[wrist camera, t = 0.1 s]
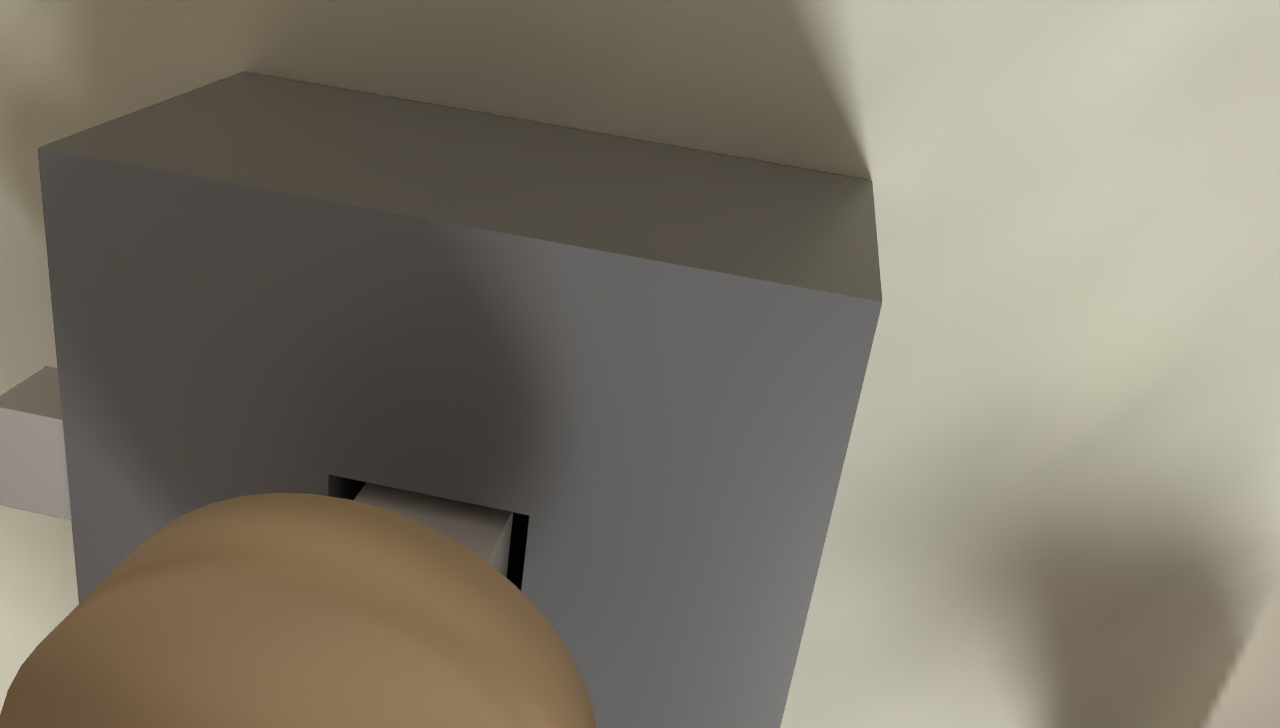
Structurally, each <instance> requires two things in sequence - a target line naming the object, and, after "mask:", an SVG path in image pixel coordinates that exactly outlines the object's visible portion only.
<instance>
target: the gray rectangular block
mask: <svg viewBox="0 0 1280 728" xmlns="http://www.w3.org/2000/svg"><path fill="white" fill-rule="evenodd" d="M38 156H39V167H40V178H41V189H42V200H43V211H44V222H45V233H46V244H47V255H48V266H49V277H50V288H51V299H52V310H53V321H54V332H55V343H56V354H57V365H58V369H57V368H52V367H47V366H46V367H44V368H43V369H41V370H40V371H38V372H37V373H35V374H34V375H32V376H30V377H29V378H27V379H26V380H24V381H23V382H21V383H20V384H18V385H17V386H15V387H14V388H12V389H10V390H9V391H7V392H6V393H4V394H3V395H1V396H0V505H2V506H7V507H12V508H16V509H21V510H26V511H30V512H35V513H40V514H45V515H49V516H54V517H59V518H63V519H68V520H72V531H73V542H74V553H75V564H76V575H77V586H78V597H79V604H80V603H81V602H82V601H83V600H84V599H85V598H86V597H87V596H88V595H89V594H90V593H91V592H92V591H93V590H94V589H95V588H96V587H97V586H98V585H99V584H100V583H101V582H102V581H103V580H104V579H105V578H106V577H107V576H108V575H110V574H111V573H112V572H113V571H114V570H115V569H116V568H117V567H118V566H119V565H120V564H121V563H122V562H123V561H124V560H125V559H126V558H127V557H128V556H129V555H130V554H131V553H132V552H133V551H134V550H135V549H136V548H137V547H138V546H139V545H140V544H141V543H143V542H144V541H145V540H146V539H147V538H149V537H150V536H151V535H152V534H153V533H154V532H156V531H157V530H158V529H160V528H161V527H163V526H165V525H166V524H168V523H170V522H171V521H173V520H175V519H177V518H178V517H180V516H182V515H183V514H186V513H188V512H191V511H193V510H196V509H199V508H201V507H204V506H206V505H209V504H211V503H215V502H219V501H224V500H228V499H232V498H236V497H241V496H248V495H258V494H269V493H301V494H316V495H323V496H330V497H337V498H343V499H349V500H354V499H355V497H356V496H357V495H358V494H359V492H360V491H361V490H362V488H363V487H364V486H365V484H366V483H367V482H368V483H373V484H378V485H383V486H388V487H393V488H397V489H402V490H407V491H412V492H417V493H422V494H427V495H432V496H437V497H441V498H446V499H451V500H456V501H461V502H466V503H471V504H476V505H481V506H485V507H490V508H495V509H500V510H505V511H510V512H513V520H512V529H511V539H510V549H509V559H508V569H507V579H508V580H510V581H511V582H512V583H513V584H514V585H515V586H516V587H517V588H518V589H519V590H520V591H521V592H522V593H523V594H524V595H525V596H526V597H527V598H528V599H529V600H530V601H531V602H532V603H533V604H534V605H535V606H536V607H537V608H538V609H539V611H540V612H541V613H542V614H543V616H544V617H545V618H546V620H547V621H548V622H549V624H550V625H551V626H552V628H553V629H554V630H555V631H556V633H557V634H558V635H559V637H560V638H561V640H562V641H563V643H564V645H565V647H566V648H567V650H568V652H569V653H570V655H571V657H572V659H573V660H574V662H575V664H576V665H577V668H578V670H579V672H580V675H581V677H582V680H583V682H584V684H585V687H586V689H587V692H588V694H589V697H590V701H591V705H592V709H593V713H594V717H595V720H596V725H597V728H780V725H781V721H782V717H783V713H784V709H785V705H786V700H787V696H788V692H789V688H790V684H791V680H792V675H793V671H794V667H795V663H796V659H797V655H798V650H799V646H800V642H801V638H802V634H803V630H804V626H805V621H806V617H807V613H808V609H809V605H810V601H811V596H812V592H813V588H814V584H815V580H816V576H817V571H818V567H819V563H820V559H821V555H822V551H823V546H824V542H825V538H826V534H827V530H828V526H829V521H830V517H831V513H832V509H833V505H834V501H835V497H836V492H837V488H838V484H839V480H840V476H841V472H842V467H843V463H844V459H845V455H846V451H847V447H848V442H849V438H850V434H851V430H852V426H853V422H854V417H855V413H856V409H857V405H858V401H859V397H860V393H861V388H862V384H863V380H864V376H865V372H866V368H867V363H868V359H869V355H870V351H871V347H872V343H873V338H874V334H875V330H876V326H877V322H878V318H879V313H880V309H881V305H882V293H881V281H880V269H879V257H878V245H877V233H876V221H875V209H874V197H873V185H872V180H866V179H860V178H855V177H849V176H843V175H837V174H831V173H826V172H820V171H814V170H808V169H803V168H797V167H791V166H785V165H779V164H774V163H768V162H762V161H756V160H751V159H745V158H739V157H733V156H727V155H722V154H716V153H710V152H704V151H699V150H693V149H687V148H681V147H675V146H670V145H664V144H658V143H652V142H646V141H641V140H635V139H629V138H623V137H618V136H612V135H606V134H600V133H594V132H589V131H583V130H577V129H571V128H566V127H560V126H554V125H548V124H542V123H537V122H531V121H525V120H519V119H514V118H508V117H502V116H496V115H490V114H485V113H479V112H473V111H467V110H462V109H456V108H450V107H444V106H438V105H433V104H427V103H421V102H415V101H410V100H404V99H398V98H392V97H386V96H381V95H375V94H369V93H363V92H358V91H352V90H346V89H340V88H334V87H329V86H323V85H317V84H311V83H306V82H300V81H294V80H288V79H282V78H277V77H271V76H265V75H259V74H254V73H248V72H241V73H238V74H235V75H233V76H230V77H227V78H225V79H222V80H219V81H217V82H214V83H211V84H209V85H206V86H203V87H201V88H198V89H195V90H192V91H190V92H187V93H184V94H182V95H179V96H176V97H174V98H171V99H168V100H166V101H163V102H160V103H157V104H155V105H152V106H149V107H147V108H144V109H141V110H139V111H136V112H133V113H131V114H128V115H125V116H123V117H120V118H117V119H114V120H112V121H109V122H106V123H104V124H101V125H98V126H96V127H93V128H90V129H88V130H85V131H82V132H80V133H77V134H74V135H71V136H69V137H66V138H63V139H61V140H58V141H55V142H53V143H50V144H47V145H45V146H42V147H39V148H38Z"/></svg>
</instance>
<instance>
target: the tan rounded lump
mask: <svg viewBox="0 0 1280 728" xmlns="http://www.w3.org/2000/svg"><path fill="white" fill-rule="evenodd" d="M512 520H513V512H510V511H505V510H500V509H495V508H490V507H485V506H481V505H476V504H471V503H466V502H461V501H456V500H451V499H446V498H441V497H437V496H432V495H427V494H422V493H417V492H412V491H407V490H402V489H397V488H393V487H388V486H383V485H378V484H373V483H368V482H367V483H366V484H365V486H364V487H363V488H362V490H361V491H360V492H359V494H358V495H357V496H356V497H355V499H354V500H349V499H343V498H337V497H330V496H323V495H316V494H301V493H269V494H258V495H248V496H241V497H236V498H232V499H228V500H224V501H219V502H215V503H211V504H209V505H206V506H204V507H201V508H199V509H196V510H193V511H191V512H188V513H186V514H183V515H182V516H180V517H178V518H177V519H175V520H173V521H171V522H170V523H168V524H166V525H165V526H163V527H161V528H160V529H158V530H157V531H156V532H154V533H153V534H152V535H151V536H150V537H149V538H147V539H146V540H145V541H144V542H143V543H141V544H140V545H139V546H138V547H137V548H136V549H135V550H134V551H133V552H132V553H131V554H130V555H129V556H128V557H127V558H126V559H125V560H124V561H123V562H122V563H121V564H120V565H119V566H118V567H117V568H116V569H115V570H114V571H113V572H112V573H111V574H110V575H108V576H107V577H106V578H105V579H104V580H103V581H102V582H101V583H100V584H99V585H98V586H97V587H96V588H95V589H94V590H93V591H92V592H91V593H90V594H89V595H88V596H87V597H86V598H85V599H84V600H83V601H82V602H81V603H80V604H79V605H78V606H77V607H76V608H75V609H74V610H73V611H72V612H71V613H70V614H69V615H68V616H67V617H66V618H65V619H64V620H63V621H62V622H61V623H60V624H59V625H58V626H57V627H56V628H55V629H54V630H53V631H52V632H51V633H50V634H49V635H48V636H47V637H46V638H45V639H44V640H43V641H42V642H41V643H40V644H39V645H38V646H37V647H36V648H35V650H34V651H33V652H32V653H31V655H30V656H29V657H28V658H27V659H26V661H25V662H24V663H23V664H22V666H21V667H20V669H19V671H18V673H17V675H16V676H15V678H14V680H13V682H12V684H11V686H10V688H9V689H8V692H7V695H6V698H5V702H4V705H3V708H2V711H1V715H0V728H597V725H596V720H595V717H594V713H593V709H592V705H591V701H590V697H589V694H588V692H587V689H586V687H585V684H584V682H583V680H582V677H581V675H580V672H579V670H578V668H577V665H576V664H575V662H574V660H573V659H572V657H571V655H570V653H569V652H568V650H567V648H566V647H565V645H564V643H563V641H562V640H561V638H560V637H559V635H558V634H557V633H556V631H555V630H554V629H553V628H552V626H551V625H550V624H549V622H548V621H547V620H546V618H545V617H544V616H543V614H542V613H541V612H540V611H539V609H538V608H537V607H536V606H535V605H534V604H533V603H532V602H531V601H530V600H529V599H528V598H527V597H526V596H525V595H524V594H523V593H522V592H521V591H520V590H519V589H518V588H517V587H516V586H515V585H514V584H513V583H512V582H511V581H510V580H508V579H507V569H508V559H509V549H510V539H511V529H512Z"/></svg>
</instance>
